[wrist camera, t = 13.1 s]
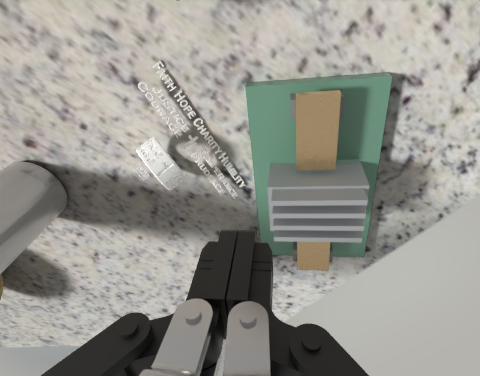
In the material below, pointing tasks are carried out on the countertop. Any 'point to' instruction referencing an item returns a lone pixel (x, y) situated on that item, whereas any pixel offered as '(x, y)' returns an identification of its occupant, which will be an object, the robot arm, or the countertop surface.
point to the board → (349, 138)
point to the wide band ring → (165, 164)
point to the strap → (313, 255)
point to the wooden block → (317, 129)
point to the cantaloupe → (1, 285)
